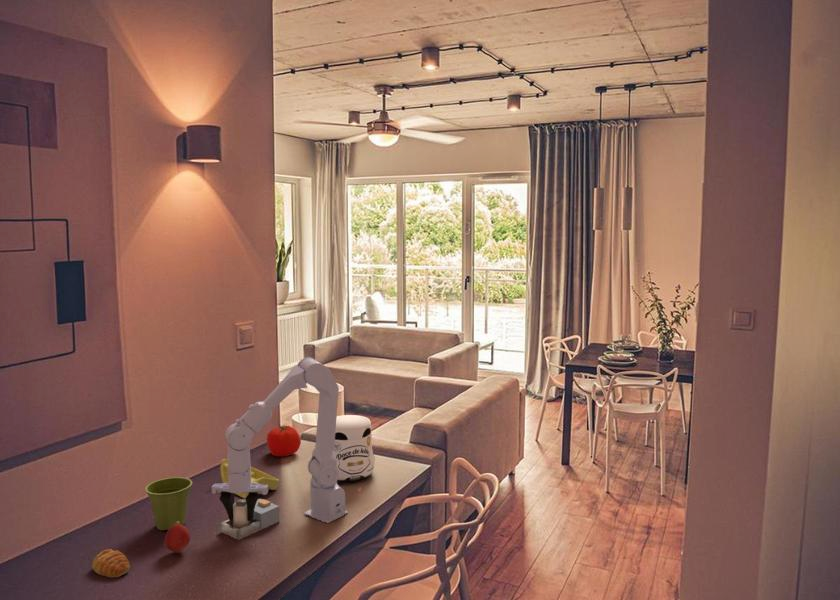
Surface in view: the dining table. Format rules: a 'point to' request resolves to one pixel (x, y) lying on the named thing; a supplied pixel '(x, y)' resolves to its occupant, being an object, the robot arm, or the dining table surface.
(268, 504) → the block
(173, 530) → the onion
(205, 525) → the dining table surface
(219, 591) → the dining table surface
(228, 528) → the beige tray
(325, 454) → the robot arm
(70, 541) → the dining table surface
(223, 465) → the plastic component
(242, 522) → the cream capped bottle
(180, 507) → the plant pot
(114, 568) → the pastry
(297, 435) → the tomato
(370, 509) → the dining table surface
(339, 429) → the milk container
